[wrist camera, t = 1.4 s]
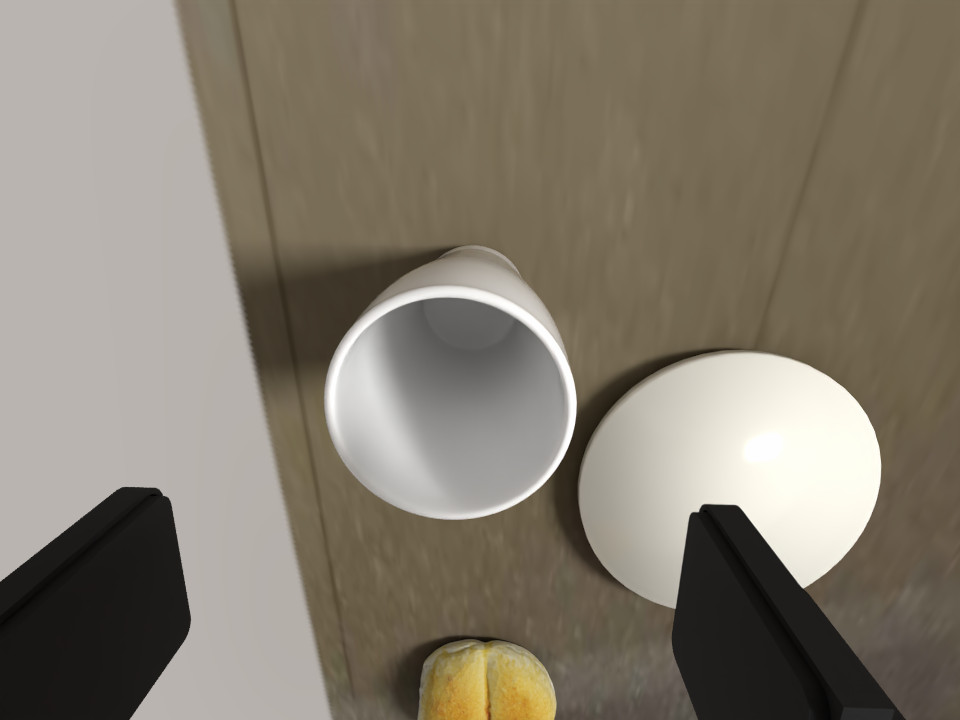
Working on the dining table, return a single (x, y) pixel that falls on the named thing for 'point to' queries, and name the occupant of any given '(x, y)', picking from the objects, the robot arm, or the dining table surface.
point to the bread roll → (485, 683)
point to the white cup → (452, 389)
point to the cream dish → (728, 466)
